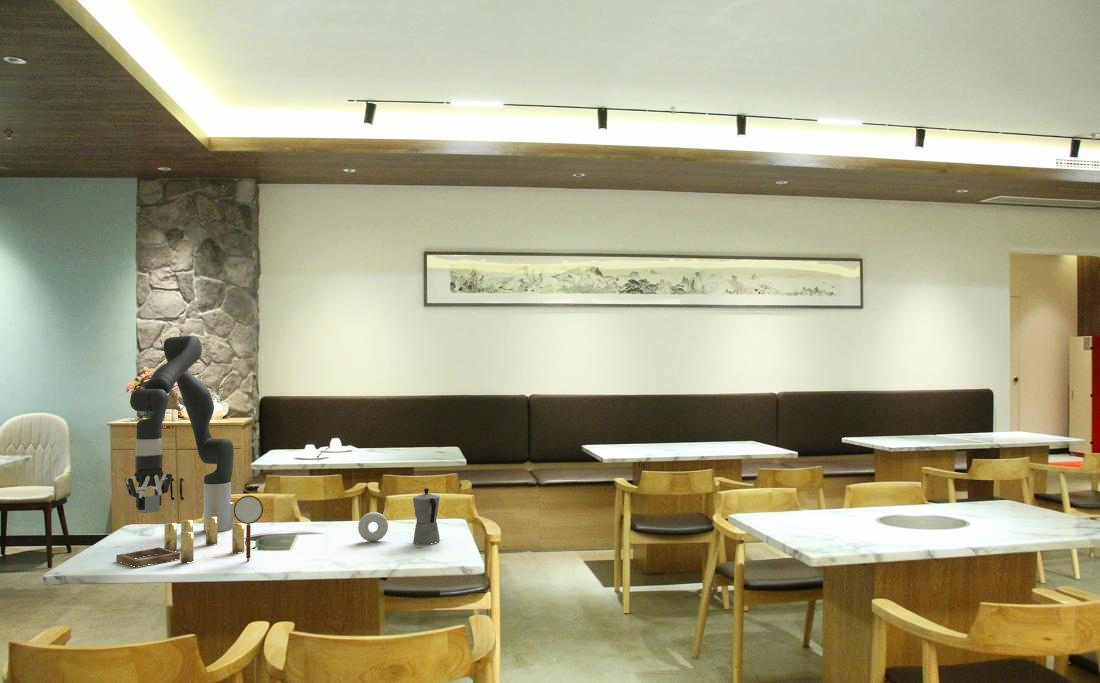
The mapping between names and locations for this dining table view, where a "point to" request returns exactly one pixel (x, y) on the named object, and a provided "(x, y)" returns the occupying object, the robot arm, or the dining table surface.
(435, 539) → the coffeepot
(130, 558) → the tray
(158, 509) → the grey block
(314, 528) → the dining table surface
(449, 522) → the dining table surface
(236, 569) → the dining table surface
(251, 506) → the magnifying glass
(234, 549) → the standing stones
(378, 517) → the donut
